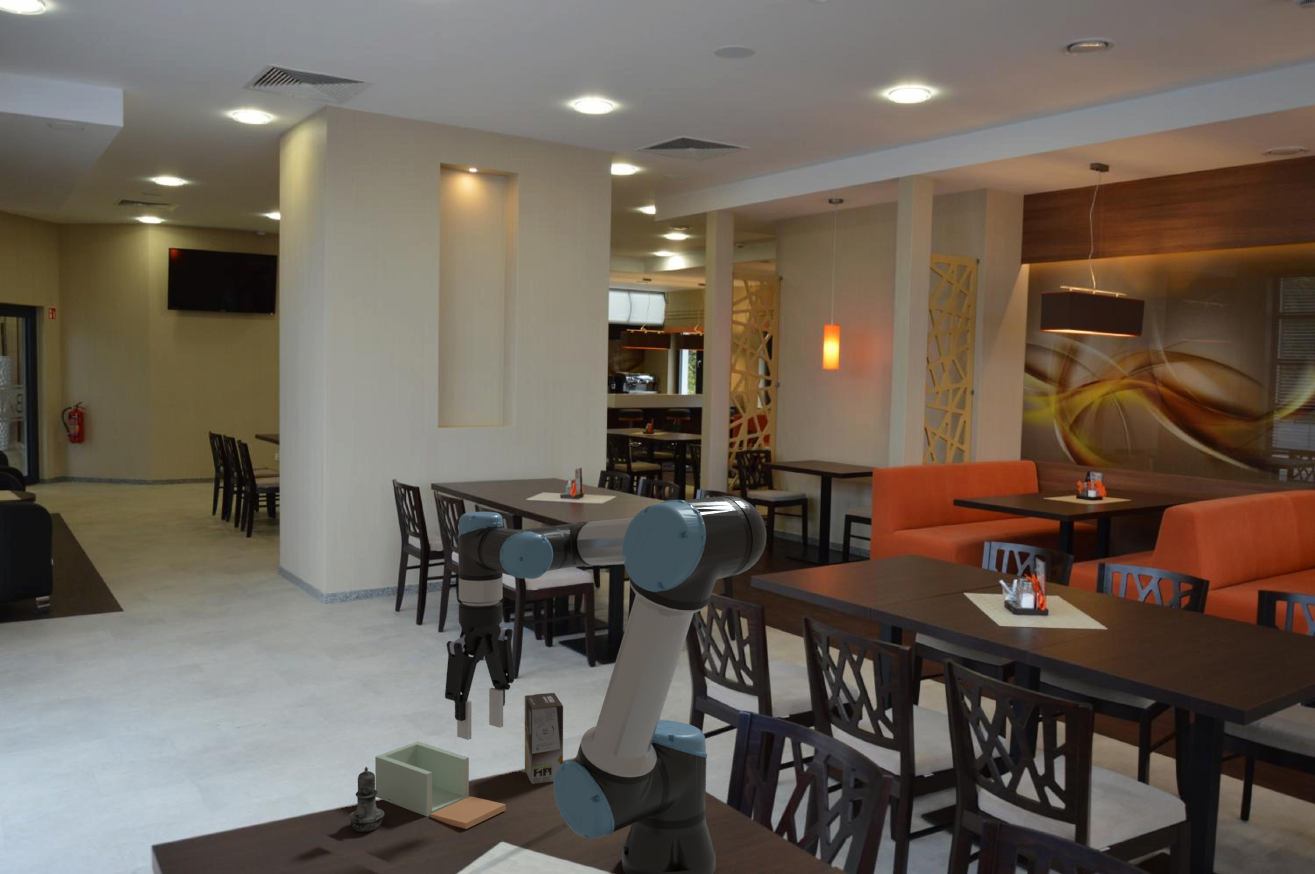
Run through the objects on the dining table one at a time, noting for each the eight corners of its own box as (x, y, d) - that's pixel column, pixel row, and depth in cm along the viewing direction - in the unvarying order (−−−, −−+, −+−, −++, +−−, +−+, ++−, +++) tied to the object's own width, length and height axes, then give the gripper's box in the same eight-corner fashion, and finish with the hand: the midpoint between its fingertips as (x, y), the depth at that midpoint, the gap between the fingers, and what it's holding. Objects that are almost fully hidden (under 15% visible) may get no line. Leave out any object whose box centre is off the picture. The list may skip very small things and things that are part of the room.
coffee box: (564, 787, 192) (564, 705, 191) (531, 791, 190) (531, 708, 189) (554, 770, 201) (554, 691, 200) (523, 773, 199) (523, 694, 198)
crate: (468, 805, 183) (468, 757, 183) (426, 824, 175) (426, 774, 175) (417, 787, 191) (417, 741, 191) (375, 804, 183) (375, 756, 183)
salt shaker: (374, 844, 167) (373, 774, 167) (342, 841, 168) (341, 771, 168) (390, 829, 173) (390, 761, 172) (359, 826, 174) (359, 759, 174)
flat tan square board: (470, 801, 183) (506, 809, 177) (430, 819, 175) (466, 828, 169) (470, 796, 183) (505, 804, 177) (430, 813, 175) (465, 823, 169)
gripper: (505, 589, 183) (505, 712, 184) (421, 608, 167) (421, 742, 168) (535, 594, 178) (535, 720, 179) (452, 614, 162) (452, 752, 163)
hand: (480, 731), depth 174 cm, fingers open, 7 cm apart
